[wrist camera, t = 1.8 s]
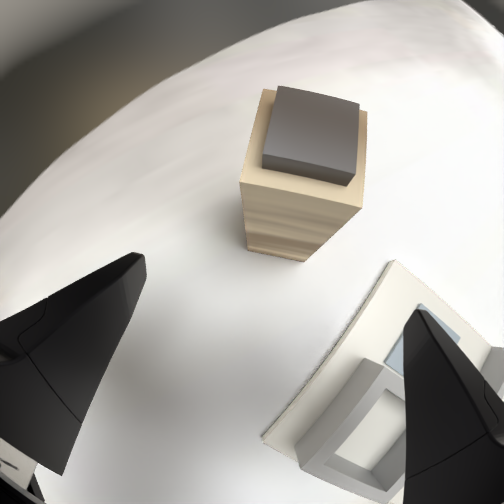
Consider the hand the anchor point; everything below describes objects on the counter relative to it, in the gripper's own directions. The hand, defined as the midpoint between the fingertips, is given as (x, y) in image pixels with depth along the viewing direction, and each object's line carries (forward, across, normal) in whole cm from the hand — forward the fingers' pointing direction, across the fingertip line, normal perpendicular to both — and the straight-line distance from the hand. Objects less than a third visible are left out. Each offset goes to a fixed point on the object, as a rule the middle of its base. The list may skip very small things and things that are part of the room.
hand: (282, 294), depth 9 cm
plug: (+12, 0, +5) cm, 13 cm away
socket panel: (+3, -15, +14) cm, 20 cm away
